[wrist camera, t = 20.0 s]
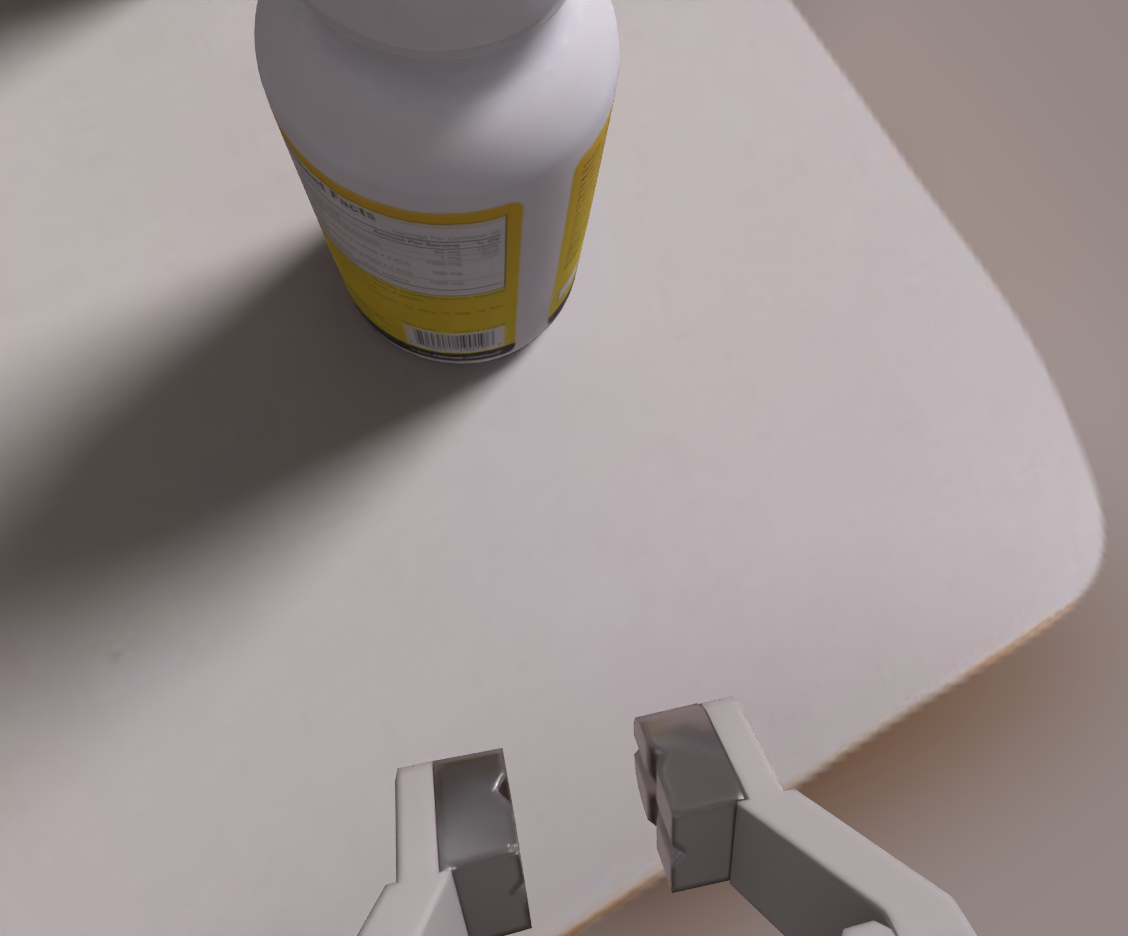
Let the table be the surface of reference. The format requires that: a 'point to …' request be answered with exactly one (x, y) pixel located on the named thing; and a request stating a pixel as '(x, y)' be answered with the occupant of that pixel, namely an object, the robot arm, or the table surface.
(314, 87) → the pill bottle
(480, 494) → the table surface
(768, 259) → the table surface
